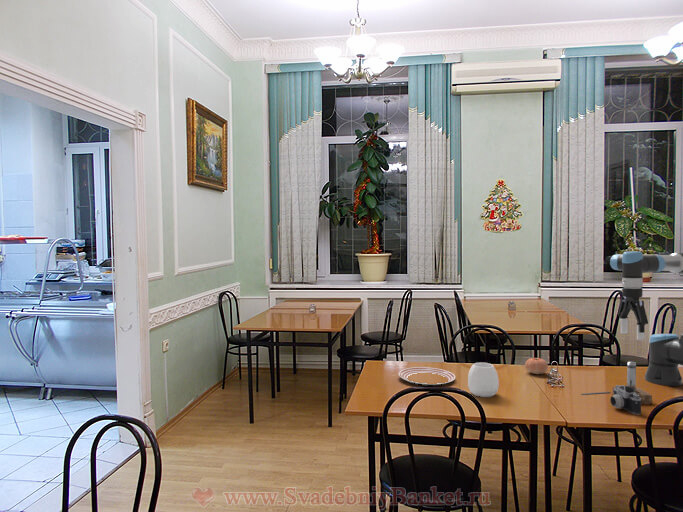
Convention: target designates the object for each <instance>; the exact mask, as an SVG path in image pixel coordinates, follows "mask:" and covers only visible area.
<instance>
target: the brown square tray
mask: <svg viewBox="0 0 683 512" xmlns="http://www.w3.org/2000/svg"><path fill="white" fill-rule="evenodd" d="M614 388H616V386H612V391H611V392H612V394H611V395H612V396H613V395H614V392H613V390H614ZM636 394H638V395H639V398H641V405H646V404H647V405H648V404H649V405H652V404H653V395H652V394H650V393H649V392H647V391H645V390H643V389H642V388H640V387H638V386H637V387H636Z"/></svg>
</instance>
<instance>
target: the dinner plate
mask: <svg viewBox="0 0 683 512" xmlns="http://www.w3.org/2000/svg"><path fill="white" fill-rule="evenodd" d="M417 373H432V374H438V375H441V376H443V377H446V378H447V379H448V382H445V383H437V384H427V383H418V382H413V381H409V380H408V379H407V378H408V376H410V375H412V374H417ZM398 376H399V377H400V378H401V379H402V380H404V381H405V382H408V383H411V384H414V383H415V384H414V385H418V384H422V385H421V386H428V385H433V386H440V385H441V384H442V385H445V384H448V383H451V382H453V381H454V380H456V375H455V374H454V373H453V372H452V371H451V372H450V371H448V370H445V369H441V368H436V367H428V366H426V367H425V366H423V367H422V366H414V367H408V368H403V369H402V370H400V371H399V372H398Z"/></svg>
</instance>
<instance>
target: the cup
mask: <svg viewBox="0 0 683 512" xmlns="http://www.w3.org/2000/svg"><path fill="white" fill-rule="evenodd" d="M467 376H468V377H467V386H468V389H469V392H470V393H471V394H472V395H474V396H476V397H479V396H480V398H491V397H493V396H494V395H496V394H497V393H498V390H499V384H500V383H499V382H500V381H499V375H498V372H497V370H496V368H495V366H494V364H491V363H490V362H489V363H488V362H475V363H473V364H472V365H471V367H470V369H469V371H468V375H467Z"/></svg>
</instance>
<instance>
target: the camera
mask: <svg viewBox="0 0 683 512" xmlns="http://www.w3.org/2000/svg"><path fill="white" fill-rule="evenodd" d="M615 387H616V388H614V390H613V392H614V395H612V396H611V397H610V399H609V400H610V401H609V402H610V404H611V406H612V407H615V408H616V409H623V410H625V411H628V413H631V414H632V415H641V414H642V404H641V398H639V395H638V394H636V393H635V390H634V389H633V388H632V387H628V386H627V385H624V384H622V385H620V384H616V385H615Z"/></svg>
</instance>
